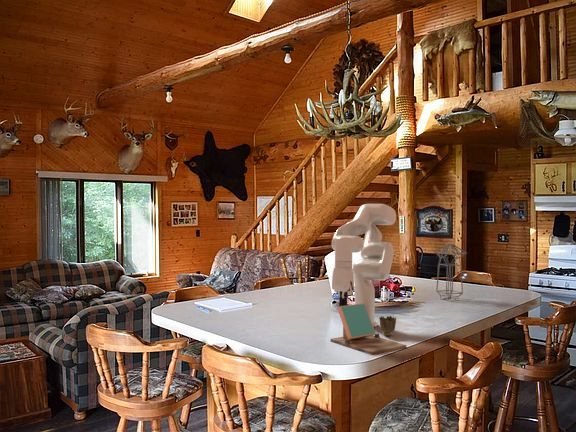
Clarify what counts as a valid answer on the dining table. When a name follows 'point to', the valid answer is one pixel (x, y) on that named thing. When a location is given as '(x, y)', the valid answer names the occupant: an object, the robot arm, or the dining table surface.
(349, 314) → the tile
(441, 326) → the dining table surface
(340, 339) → the walnut board
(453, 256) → the geometric lantern
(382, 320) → the cup
